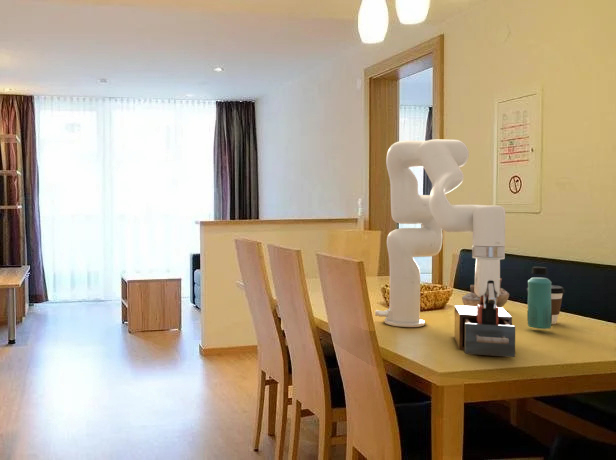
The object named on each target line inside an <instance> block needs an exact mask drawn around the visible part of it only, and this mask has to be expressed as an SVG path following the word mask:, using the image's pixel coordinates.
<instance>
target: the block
mask: <svg viewBox="0 0 616 460" xmlns="http://www.w3.org/2000/svg"><path fill="white" fill-rule="evenodd" d="M482 309H483V305H482V304H477V322H478V323H479V324H482ZM498 315H499V308H498V307H497V306H496V325H498Z"/></svg>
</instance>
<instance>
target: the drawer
mask: <svg viewBox="0 0 616 460" xmlns="http://www.w3.org/2000/svg"><path fill="white" fill-rule="evenodd" d="M463 343H464V345H465V350H464V354H465V355H480V356H490V357H491V356H492V357H504V358H505V357H506V358H507V357H509V358H515V357H516V326H515V325H513V324H512V325H510V324H509V323H508V322H507V321H506V320H504V319H498V325H495V324H479V323H478V322H477V318H465V317H463Z"/></svg>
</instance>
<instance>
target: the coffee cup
mask: <svg viewBox="0 0 616 460" xmlns="http://www.w3.org/2000/svg"><path fill="white" fill-rule="evenodd" d="M526 291H527V292H528V287H526ZM564 294H566V290H565V289H564V287H563V286H560V285H554V284H551V304H552V307H551V309H552V310H551V313H552V323H551V325H556V324H557V322H558V319H559V315H560V312H561V308H562V301H563V295H564Z"/></svg>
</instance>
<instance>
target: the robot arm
mask: <svg viewBox="0 0 616 460" xmlns="http://www.w3.org/2000/svg"><path fill="white" fill-rule="evenodd" d="M469 153H470V152H469V148H468V147H467V145H466V144H465V143H464V142H463V141H462V140H459V139H439V138H438V139H437V138H436V139H435V138H433V139H428V140H410V139H409V140H400V141H396V142H394V143H392V144H391V145H390V146H389V148H388V150H387V153H386V158H385V162H386V170H387V174H388V177H389V184H390V214H391V219H392V220H393V222H395V223H397V224H401V225H420V227H400V228H396V229H393V230H391V231H390V232H389V233H388V235H387V236H386V249H387V254H388V261H389V263H388V264H389V304H388V305H389V307H388V309H385V310H380V309H375V312H374V314H375V315H374V316H376V317H379V318H381V317H382V318H384V324H386V325H389V326H393V327H400V328H419V327H420V328H421V327H423V326H425V325H426V321H425V320H424V319H422V318H421V270H420V267H419V265H418V263H417V262H416V260H415V258H425V257H426V258H428V257H434V256H438V254H439V253H440V252H441V250H442V245H443V231H444V232H446V233H472V246H471V248H472V250H471V254H472V255H471V258H472V259H475V267H474V284H473V285H474V292H475V294H476V295H477V296H478V297H480V304H482V305H483V309H482V324H495V325H496V298H497V297H499V291H500V288H501V285H500V278H501V260H505V257H506V255H505V254H506V209H505V208H504V206H503V205H496V204H495V205H491V204H490V205H489V204H487V205H485V204H469V203H468V204H451V202H450V201H449V200H448V197H447V195H446V194H448V193H450V192H452V191H454V190H456V189H457V188H458V187H459V186H460V185H461V184H462V183H463V181H464V173H463V171H462V169H461V168H463V166H465V165H466V164H467V162H468V160H469V156H470V155H469ZM410 168H423V170H424V172H425V173H426V175H427V176H428V179H429V181H430V182H431V184H432V187H431V189H430V192H429V193H430V194H419V183H418V178H417V176H416V175H415V174H414V172H413V171H412V170H411V169H410Z"/></svg>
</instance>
